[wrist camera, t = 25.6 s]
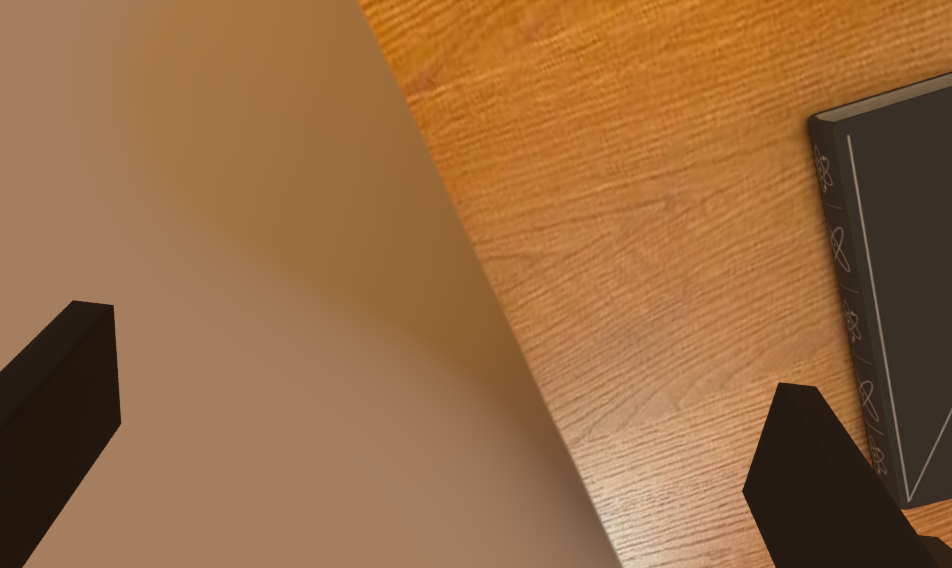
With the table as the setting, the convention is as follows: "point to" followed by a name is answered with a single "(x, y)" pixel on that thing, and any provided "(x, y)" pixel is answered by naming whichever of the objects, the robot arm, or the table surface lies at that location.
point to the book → (896, 273)
